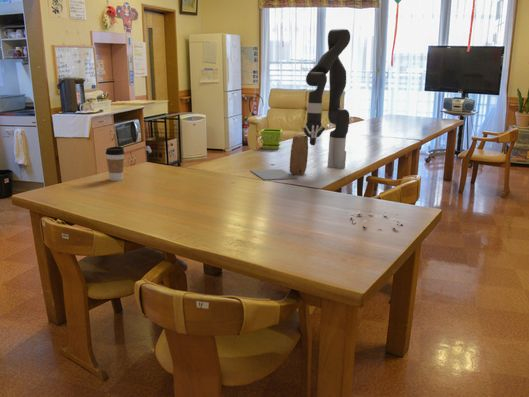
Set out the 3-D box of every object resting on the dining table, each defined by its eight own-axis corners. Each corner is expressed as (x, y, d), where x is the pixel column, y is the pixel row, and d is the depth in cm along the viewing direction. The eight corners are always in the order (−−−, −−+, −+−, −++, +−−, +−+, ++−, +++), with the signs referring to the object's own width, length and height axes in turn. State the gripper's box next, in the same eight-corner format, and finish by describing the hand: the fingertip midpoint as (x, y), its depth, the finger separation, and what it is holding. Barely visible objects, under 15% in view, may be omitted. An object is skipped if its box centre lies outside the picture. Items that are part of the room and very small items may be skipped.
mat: (281, 170, 266) (281, 169, 265) (297, 178, 246) (297, 177, 245) (250, 171, 259) (250, 170, 259) (264, 180, 239) (264, 179, 239)
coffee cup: (129, 178, 231) (128, 147, 228) (117, 182, 224) (115, 149, 220) (115, 176, 235) (114, 145, 231) (102, 179, 227) (101, 148, 224)
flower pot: (262, 146, 347) (263, 128, 343) (282, 147, 345) (282, 129, 342) (259, 149, 333) (260, 130, 330) (279, 150, 331) (280, 131, 328)
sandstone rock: (301, 175, 251) (304, 137, 246) (287, 173, 254) (290, 135, 249) (307, 172, 261) (311, 135, 256) (294, 170, 263) (297, 134, 259)
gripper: (322, 111, 257) (320, 143, 262) (299, 111, 253) (298, 144, 257) (329, 112, 250) (326, 145, 255) (305, 112, 246) (304, 146, 250)
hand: (312, 145), depth 256 cm, fingers closed
